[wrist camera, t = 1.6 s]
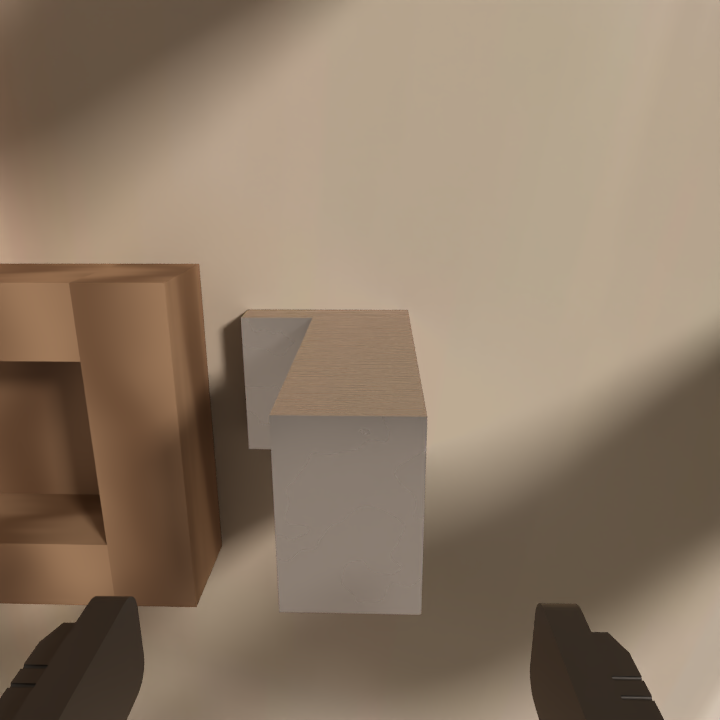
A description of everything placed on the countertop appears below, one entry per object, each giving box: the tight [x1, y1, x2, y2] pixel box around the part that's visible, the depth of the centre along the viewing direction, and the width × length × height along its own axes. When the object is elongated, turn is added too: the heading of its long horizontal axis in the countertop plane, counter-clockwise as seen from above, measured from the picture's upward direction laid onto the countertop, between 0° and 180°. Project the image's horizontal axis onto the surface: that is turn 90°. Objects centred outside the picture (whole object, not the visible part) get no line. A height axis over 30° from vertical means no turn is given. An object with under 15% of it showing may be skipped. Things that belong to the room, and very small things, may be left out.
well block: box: [0, 264, 222, 607], centre depth 27 cm, size 16×14×4 cm
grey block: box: [241, 310, 427, 615], centre depth 22 cm, size 7×6×12 cm
